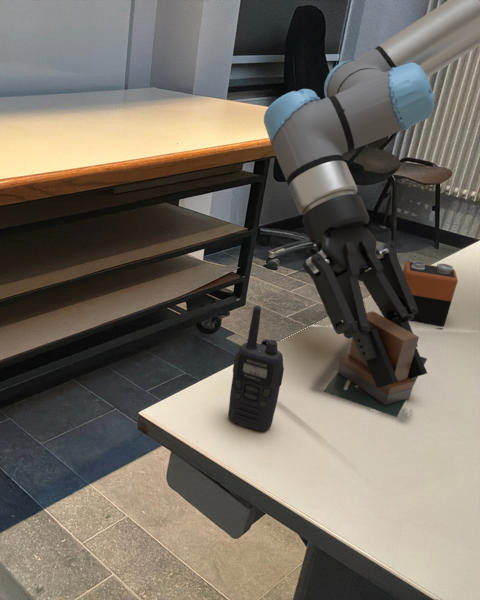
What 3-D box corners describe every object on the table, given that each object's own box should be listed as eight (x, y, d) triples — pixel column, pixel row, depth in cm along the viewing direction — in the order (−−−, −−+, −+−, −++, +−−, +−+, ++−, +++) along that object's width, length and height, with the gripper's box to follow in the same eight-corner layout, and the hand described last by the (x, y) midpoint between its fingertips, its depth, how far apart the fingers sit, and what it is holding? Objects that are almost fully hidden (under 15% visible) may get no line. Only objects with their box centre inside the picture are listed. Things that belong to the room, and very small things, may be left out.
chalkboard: (356, 342, 96) (358, 335, 96) (431, 365, 91) (434, 357, 91) (314, 399, 83) (315, 391, 83) (399, 430, 78) (401, 422, 78)
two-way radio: (222, 421, 79) (238, 307, 72) (234, 402, 82) (251, 291, 76) (268, 437, 76) (290, 320, 70) (279, 417, 80) (301, 304, 73)
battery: (441, 336, 99) (460, 274, 94) (391, 327, 101) (407, 265, 96) (439, 323, 102) (457, 262, 98) (391, 314, 104) (406, 255, 100)
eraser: (337, 372, 87) (350, 313, 83) (360, 365, 88) (374, 308, 85) (385, 405, 80) (402, 344, 77) (409, 398, 82) (427, 337, 78)
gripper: (360, 211, 93) (429, 373, 87) (259, 226, 86) (326, 403, 80) (399, 184, 86) (478, 358, 80) (293, 198, 80) (370, 388, 73)
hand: (402, 380), depth 80 cm, fingers closed on eraser, 4 cm apart
